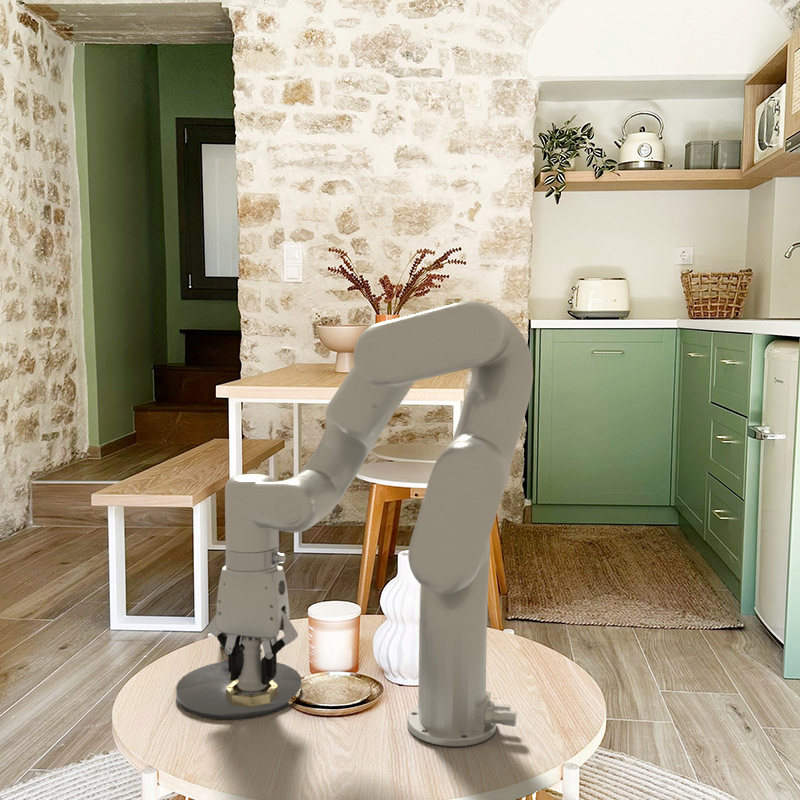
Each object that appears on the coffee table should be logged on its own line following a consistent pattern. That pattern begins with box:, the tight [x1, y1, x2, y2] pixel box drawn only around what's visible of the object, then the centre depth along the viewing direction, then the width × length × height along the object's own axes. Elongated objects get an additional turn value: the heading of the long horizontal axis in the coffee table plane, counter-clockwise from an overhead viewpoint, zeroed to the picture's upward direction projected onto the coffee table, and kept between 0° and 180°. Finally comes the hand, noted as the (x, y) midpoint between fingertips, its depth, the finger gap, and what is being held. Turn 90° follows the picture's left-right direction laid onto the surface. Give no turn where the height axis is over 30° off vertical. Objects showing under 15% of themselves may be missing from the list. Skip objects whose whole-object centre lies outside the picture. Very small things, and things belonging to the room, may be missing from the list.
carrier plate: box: [175, 660, 302, 721], centre depth 134 cm, size 19×19×3 cm
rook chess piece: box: [237, 636, 267, 693], centre depth 128 cm, size 4×4×8 cm
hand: (252, 678), depth 128 cm, fingers closed on rook chess piece, 4 cm apart
